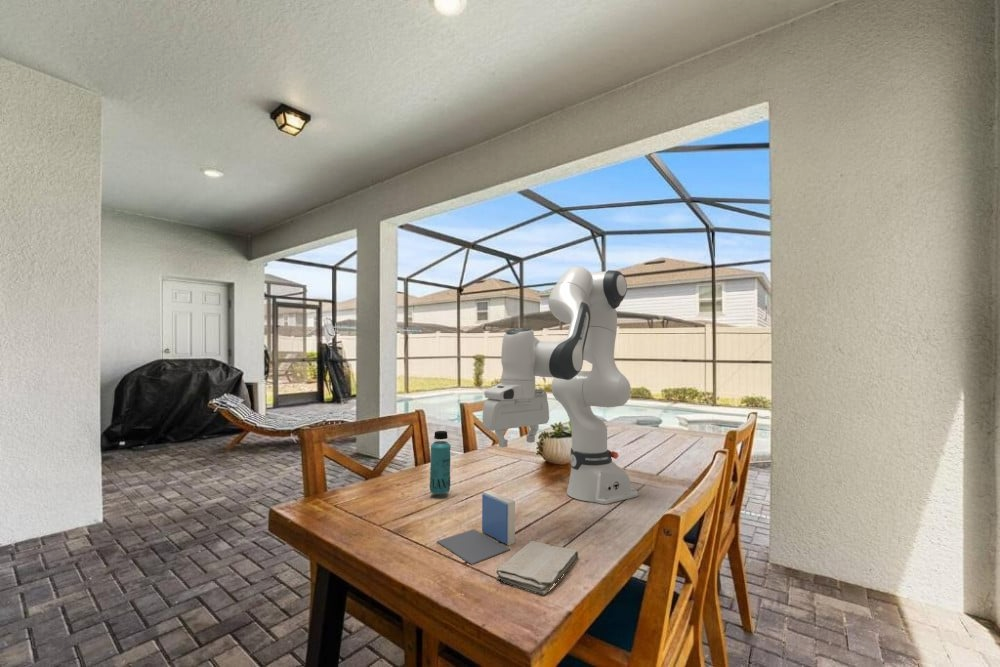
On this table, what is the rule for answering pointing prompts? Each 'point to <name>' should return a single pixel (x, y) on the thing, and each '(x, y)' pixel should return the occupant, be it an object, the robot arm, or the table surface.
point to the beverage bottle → (440, 465)
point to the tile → (498, 517)
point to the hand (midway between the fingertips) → (517, 444)
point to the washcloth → (537, 566)
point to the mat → (473, 546)
